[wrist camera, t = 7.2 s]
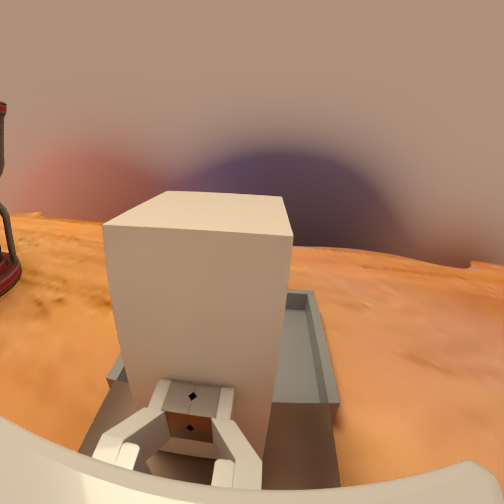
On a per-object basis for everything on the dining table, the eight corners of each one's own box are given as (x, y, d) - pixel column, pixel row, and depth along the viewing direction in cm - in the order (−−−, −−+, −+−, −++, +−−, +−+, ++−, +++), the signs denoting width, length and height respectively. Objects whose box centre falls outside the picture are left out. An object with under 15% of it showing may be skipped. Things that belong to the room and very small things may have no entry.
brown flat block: (318, 428, 18) (328, 402, 17) (330, 556, 9) (347, 546, 8) (124, 407, 19) (114, 379, 18) (77, 518, 9) (55, 500, 8)
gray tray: (310, 310, 33) (313, 290, 32) (331, 424, 19) (340, 402, 18) (168, 298, 33) (166, 279, 33) (114, 400, 19) (106, 378, 18)
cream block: (264, 377, 19) (281, 196, 15) (261, 462, 13) (293, 236, 9) (177, 368, 20) (167, 190, 15) (148, 447, 13) (102, 224, 9)
